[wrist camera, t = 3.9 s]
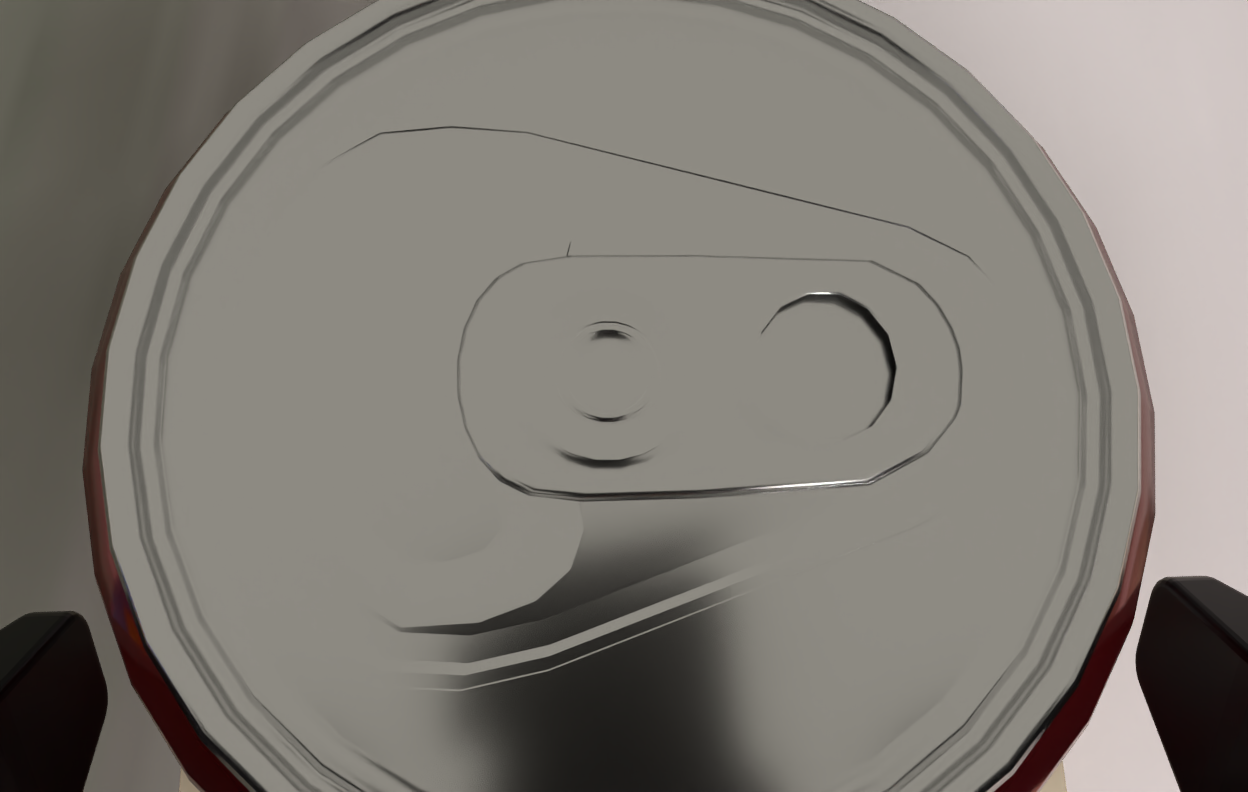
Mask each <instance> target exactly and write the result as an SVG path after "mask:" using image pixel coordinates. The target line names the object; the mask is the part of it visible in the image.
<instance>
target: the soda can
mask: <svg viewBox="0 0 1248 792" xmlns="http://www.w3.org/2000/svg"><path fill="white" fill-rule="evenodd" d="M83 479H84V487H85V496H86V505H87V513H88V522H89V531H90V539H91V548H92V556H93V565H94V574H95V578H96V582H97V585H98V588H99V591H100V594H101V597H102V600H103V603H104V606H105V609H106V612H107V615H108V618H109V621H110V623H111V626H112V629H113V632H114V635H115V638H116V641H117V644H118V647H119V650H120V653H121V656H122V659H123V662H124V665H125V668H126V671H127V673H128V676H129V679H130V682H131V685H132V687H133V688H134V690H135V692H136V693H137V695H138V697H139V698H140V700H141V702H142V703H143V705H144V707H145V708H146V710H147V712H148V713H149V715H150V717H151V718H152V720H153V721H154V723H155V725H156V726H157V728H158V730H159V731H160V733H161V735H162V736H163V738H164V740H165V741H166V743H167V745H168V746H169V748H170V750H171V751H172V753H173V755H174V756H175V758H176V760H177V761H178V763H179V765H180V766H181V768H182V769H183V771H184V773H185V774H186V776H187V778H188V779H189V781H190V782H191V783H192V784H193V785H194V786H195V787H196V788H197V789H198V790H199V791H200V792H1040V790H1041V789H1042V788H1043V786H1044V785H1045V784H1046V782H1047V781H1048V780H1049V778H1050V777H1051V775H1052V774H1053V773H1054V771H1055V770H1056V769H1057V767H1058V766H1059V764H1060V763H1061V762H1062V760H1063V759H1064V758H1065V756H1066V755H1067V753H1068V752H1069V751H1070V749H1071V748H1072V747H1073V745H1074V744H1075V742H1076V741H1077V740H1078V738H1079V737H1080V736H1081V734H1082V733H1083V731H1084V730H1085V729H1086V727H1087V726H1088V724H1089V722H1090V720H1091V717H1092V715H1093V713H1094V711H1095V708H1096V706H1097V704H1098V701H1099V699H1100V697H1101V695H1102V692H1103V690H1104V688H1105V686H1106V683H1107V681H1108V679H1109V676H1110V674H1111V672H1112V670H1113V667H1114V665H1115V663H1116V660H1117V658H1118V656H1119V654H1120V651H1121V649H1122V647H1123V645H1124V642H1125V640H1126V638H1127V635H1128V633H1129V631H1130V629H1131V626H1132V623H1133V620H1134V616H1135V611H1136V606H1137V601H1138V596H1139V591H1140V587H1141V582H1142V577H1143V572H1144V567H1145V562H1146V557H1147V552H1148V547H1149V542H1150V538H1151V533H1152V528H1153V523H1154V518H1155V418H1154V408H1153V403H1152V399H1151V394H1150V389H1149V385H1148V380H1147V375H1146V370H1145V366H1144V361H1143V356H1142V352H1141V347H1140V342H1139V337H1138V333H1137V328H1136V323H1135V319H1134V315H1133V312H1132V310H1131V308H1130V305H1129V303H1128V301H1127V298H1126V296H1125V294H1124V291H1123V289H1122V287H1121V284H1120V282H1119V280H1118V277H1117V275H1116V273H1115V270H1114V268H1113V266H1112V263H1111V261H1110V259H1109V256H1108V254H1107V252H1106V249H1105V247H1104V245H1103V242H1102V240H1101V238H1100V235H1099V233H1098V231H1097V228H1096V226H1095V225H1094V223H1093V222H1092V220H1091V219H1090V217H1089V216H1088V214H1087V213H1086V211H1085V210H1084V208H1083V207H1082V205H1081V204H1080V202H1079V201H1078V199H1077V198H1076V196H1075V195H1074V193H1073V192H1072V190H1071V189H1070V187H1069V186H1068V184H1067V183H1066V182H1065V180H1064V179H1063V177H1062V176H1061V174H1060V173H1059V171H1058V170H1057V168H1056V167H1055V165H1054V164H1053V162H1052V161H1051V159H1050V158H1049V156H1048V155H1047V153H1046V152H1045V150H1044V149H1043V147H1042V146H1041V145H1040V144H1039V143H1038V142H1037V141H1036V140H1035V139H1034V137H1033V136H1032V135H1031V134H1030V133H1029V132H1028V131H1027V130H1026V129H1025V128H1024V127H1023V126H1022V125H1021V124H1020V123H1019V122H1018V121H1017V120H1016V119H1015V118H1014V117H1013V116H1012V115H1011V114H1010V113H1009V112H1008V111H1007V109H1006V108H1005V107H1004V106H1003V105H1002V104H1001V103H1000V102H999V101H998V100H997V99H996V98H995V97H994V96H993V95H992V94H991V93H990V92H989V91H988V90H987V89H986V88H985V87H984V86H983V85H982V84H981V83H980V82H979V81H978V80H977V79H976V78H975V77H974V76H973V75H972V74H971V73H970V72H969V71H968V70H967V69H965V68H964V67H963V66H961V65H960V64H958V63H957V62H956V61H954V60H953V59H951V58H950V57H949V56H947V55H946V54H944V53H943V52H942V51H940V50H939V49H937V48H936V47H935V46H933V45H932V44H930V43H929V42H928V41H926V40H925V39H923V38H922V37H921V36H919V35H918V34H917V33H915V32H914V31H912V30H911V29H910V28H908V27H907V26H905V25H904V24H903V23H901V22H900V21H898V20H897V19H896V18H894V17H892V16H890V15H888V14H886V13H884V12H881V11H879V10H877V9H875V8H873V7H871V6H869V5H867V4H865V3H863V2H861V1H859V0H377V1H376V2H374V3H372V4H371V5H369V6H367V7H366V8H364V9H362V10H361V11H359V12H357V13H356V14H354V15H352V16H351V17H349V18H347V19H346V20H344V21H342V22H341V23H339V24H337V25H336V26H334V27H332V28H331V29H329V30H327V31H326V32H324V33H322V34H321V35H319V36H317V37H316V38H314V39H312V40H311V41H309V42H307V43H306V44H304V45H303V46H302V47H301V48H299V49H298V50H297V51H296V52H295V53H294V54H293V55H291V56H290V57H289V58H288V59H287V60H286V61H284V62H283V63H282V64H281V65H280V66H279V67H278V68H276V69H275V70H274V71H273V72H272V73H271V74H269V75H268V76H267V77H266V78H265V79H264V80H263V81H261V82H260V83H259V84H258V85H257V86H256V87H255V88H253V89H252V90H251V91H250V92H249V93H248V94H246V95H245V96H244V97H243V98H242V99H241V100H240V101H238V102H237V103H236V104H235V105H234V106H233V108H232V109H231V110H230V111H229V112H227V113H226V114H225V115H224V117H223V118H222V119H221V120H220V122H219V123H218V124H217V125H216V127H215V128H214V129H213V130H212V132H211V133H210V134H209V135H208V137H207V138H206V139H205V140H204V142H203V143H202V144H201V145H200V147H199V148H198V149H197V150H196V152H195V153H194V154H193V155H192V157H191V158H190V159H189V160H188V162H187V163H186V164H185V165H184V167H183V168H182V169H181V170H180V172H179V173H178V174H177V175H176V177H175V178H174V179H173V180H172V182H171V183H170V184H169V185H168V187H167V188H166V189H165V191H164V193H163V195H162V197H161V199H160V201H159V202H158V204H157V206H156V208H155V210H154V212H153V214H152V216H151V218H150V219H149V221H148V223H147V225H146V227H145V229H144V231H143V233H142V234H141V236H140V238H139V240H138V242H137V244H136V246H135V248H134V250H133V251H132V253H131V255H130V257H129V259H128V261H127V263H126V265H125V267H124V268H123V270H122V272H121V274H120V277H119V281H118V284H117V287H116V291H115V294H114V297H113V300H112V304H111V307H110V310H109V314H108V317H107V320H106V324H105V327H104V330H103V334H102V337H101V340H100V344H99V347H98V350H97V353H96V357H95V360H94V363H93V367H92V372H91V383H90V394H89V405H88V416H87V427H86V437H85V448H84V459H83Z"/></svg>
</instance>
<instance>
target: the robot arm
mask: <svg viewBox="0 0 1248 792" xmlns="http://www.w3.org/2000/svg"><path fill="white" fill-rule="evenodd" d="M1136 672H1137V677H1138V680H1139V683H1140V686H1141V689H1142V692H1143V694H1144V697H1145V699H1146V702H1147V705H1148V707H1149V710H1150V713H1151V715H1152V718H1153V721H1154V723H1155V726H1156V728H1157V731H1158V734H1159V736H1160V739H1161V742H1162V744H1163V747H1164V750H1165V752H1166V755H1167V757H1168V760H1169V763H1170V765H1171V768H1172V771H1173V773H1174V776H1175V779H1176V781H1177V784H1178V786H1179V789H1180V792H1248V596H1246V595H1244V594H1243V593H1241V592H1239V591H1237V590H1235V589H1233V588H1231V587H1230V586H1228V585H1226V584H1224V583H1222V582H1220V581H1218V580H1217V579H1214V578H1212V577H1208V576H1182V577H1165V578H1163V579H1161V580H1159V581H1158V582H1157V583H1156V585H1155V586H1154V588H1153V590H1152V593H1151V596H1150V600H1149V604H1148V608H1147V611H1146V615H1145V619H1144V623H1143V627H1142V631H1141V635H1140V638H1139V642H1138V646H1137V651H1136ZM107 705H108V693H107V686H106V681H105V678H104V675H103V672H102V668H101V665H100V662H99V658H98V655H97V652H96V649H95V645H94V642H93V639H92V636H91V632H90V629H89V626H88V624H87V622H86V620H85V619H84V617H83V616H82V615H80V614H79V613H76V612H74V611H57V612H34V613H29V614H25V615H24V616H22V617H20V618H18V619H17V620H15V621H14V622H12V623H10V624H9V625H7V626H6V627H4V628H3V629H1V630H0V792H83V790H84V786H85V783H86V780H87V776H88V773H89V770H90V766H91V763H92V760H93V756H94V753H95V750H96V746H97V743H98V740H99V736H100V733H101V730H102V726H103V723H104V720H105V716H106V712H107Z"/></svg>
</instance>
